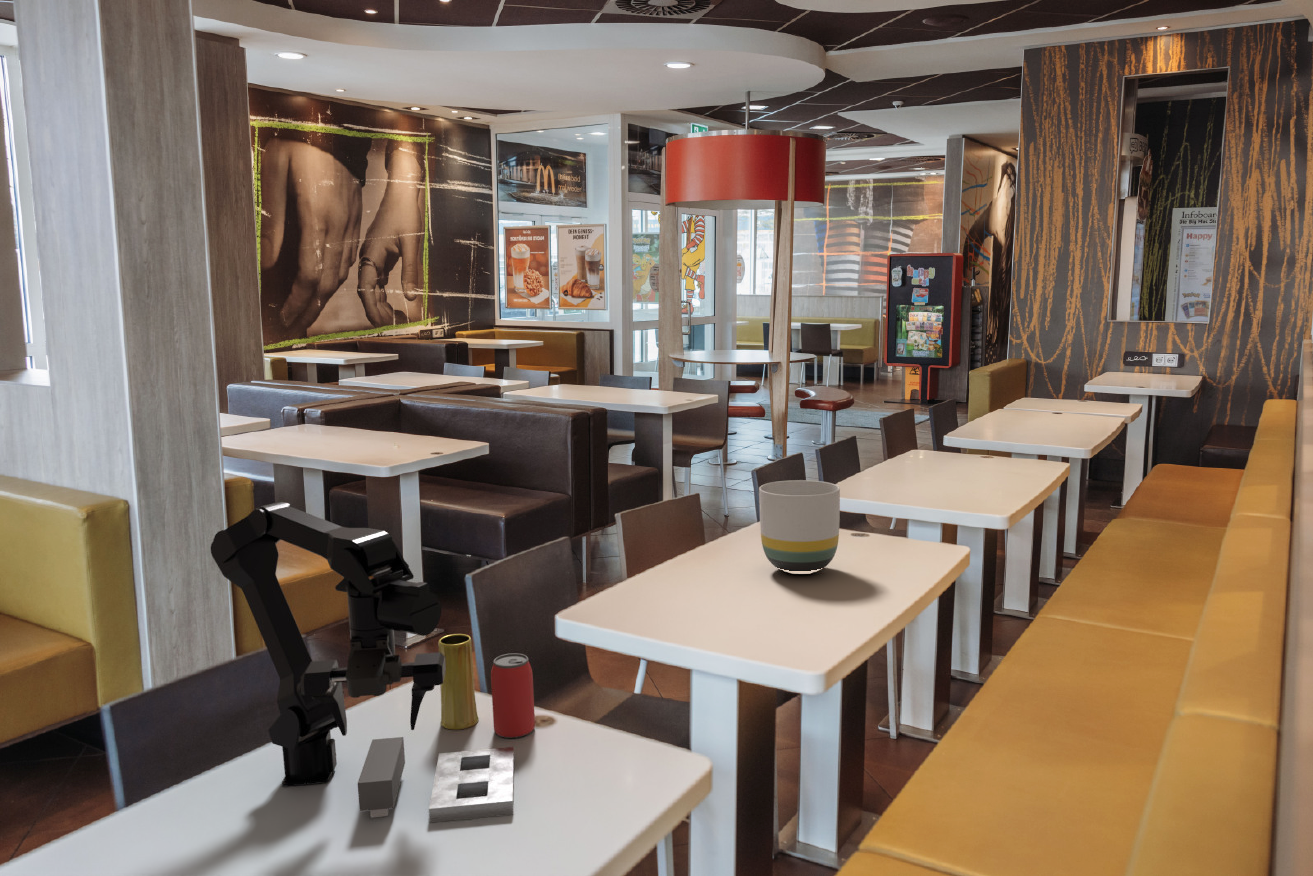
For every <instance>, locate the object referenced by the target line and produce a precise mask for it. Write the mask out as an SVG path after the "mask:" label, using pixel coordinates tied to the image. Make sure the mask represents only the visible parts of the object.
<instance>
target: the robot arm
mask: <svg viewBox="0 0 1313 876" xmlns="http://www.w3.org/2000/svg"><path fill="white" fill-rule="evenodd" d="M280 541H283V542H286V543H288V544H291V545H293V546H296V547H298V548H301V549H303V550H305V551H307V552H310V553H312V554H315V555H317V556H319V557H322V559H323V558H324V559H325V560H326V561H327V562H328V565H329V568H330V569H331V570H332V571H334V572H335V573H336V574H338V576H339V575H340V576H341V577H342V580H341V581H339V582H338V583H337V584H336V585H335V586H334V588H335V590H336V591H337V592H343V593H346V594H347V595H346V596H347V609H348V622H349V632H350V633H349V636H350V638H349V639H350V646H349V647H350V648H349V649H350V651H349V654H348V658H347V666H346V667H344V666H343V667H339V662H338V661H337V659H329V660H328V659H327V660H315V661H313V659H312V656H311V654H310V651H309V649H308V646H307V645H306V642H305V640H304V638H303V635H302V633H301V631H300V629H299V626H298V623H297V621H296V618H295V616H294V614H293V612H292V610H291V607H290V605H289V603H288V600H287V598H286V595H285V593H284V592H283V589H282V587H281V584H280V582H279V579H278V577H277V570H278V569H277V568H278V562H279V557H280V554H279V550H278V546H277V544H278V543H279V542H280ZM210 554H211V556H212V558H213V560H214V561H215V564H216V566H217V567H218V569H219V570H220V571H219V572H221V574H222V576H223V577H224V578H226V579H227V580H228V581H230V582H231V583H233V585H236V586H237V587H238V588H240V589H241V590H242V593H243V595H244V597H245V601H246V603H247V604H248V607H249V609H250V611H251V614H252V616H253V618H254V621H255V623H256V625H257V629H258V631H259V633H260V635H261V637H262V639H263V642H264V645H265V646H266V650H267V651H268V654H269V656H270V659H271V660H272V664H273V666H274V668H275V670H276V673H277V675H278V679H279V685H278V691H277V692H278V693H277V698H276V703H277V707H278V710H279V713H280V715H279V716H278V717H277V719H276V720H275V721H274V722H273V724H271V726H270V727H269V728H268V733H269V738H270V739H271V741H270V742H272V743H271V744H273V745H276V746H279V747H282V757H283V760H282V761H283V769H284V770H283V771H284V777H283V780H282V781H281V786H282V787H289V786H300V785H303V786H304V785H311V784H324V783H328V782H329V781H330V778H331V776H332V774H333V772H334V771H335V769H336V767H337V764H338V763H337V750H336V739H335V738H332V736H331V734H332V733H331V731H332V730H333V729H337V728H339V729H338V730H339V731H340V733H341V735H342V736H344V737H346V736H347V733H348V718H347V713H346V705H345V697H344V693H345V692H344V689H343V684H342V683H346V688H347V692H348V696H349V697H350V698H355V699H357V698H360V697H365V696H366V697H369V696H374V697H381V696H382V695H384V694H385V693H386V692H387V687H388V686H389V685H391V686H392V685H393V683H400V682H401V680H402V679H401V678H403V679H404V678H412V682H413V683H412V686H411V702H410V730H411V731H415V727H416V723H417V719H418V715H419V711H420V707H421V704H422V702H423V699H424V698H425V695H426V692H431V691H433V690H434V689H435V686H440V684H443V681H444V676H445V671H446V664H445V656H444V655H443V654H442V653H441V652H439V651H437V652H436V651H435V652H423V653H416V654H415V658H414V661H412V662H404V663H403V662H402V660H401V657H400V655H399V654H397V655H396V645H395V643H396V642H395V632H394V631H397V632H402V633H406V634H407V633H408V634H411V635H418V636H423V637H424V636H428V635H430V634H431V633H433V632H434V631H435V629H436V628H437V626H438V625H439V622H440V620H441V616H442V604H441V602H440V601H439V600H440V599H439V598H438V596H437V595H436V594H435V593H433V592H430V585H429V583H428V582H422V581H418V582H413V581H410V580H413V579H414V576H415V575H414V573H413V572H412V570H411V569H410V565H409V564H408V563H407V561H406V560H405V559H404V557H403V555H402V554H401V552H400V551H399V548H398V547H397V544H396V543H395V542H394V540H393V537H392V535H390V534H389V533H388V532H386V531H385V530H382V529H375V528H369V527H346V526H341V525H339V524H336V523H334V522H332V521H331V522H330V521H329V520H326V519H323V518H321V517H318V516H316V515H313V514H310V513H309V512H306V511H302V510H300V509H298V508H296V507H292V505H291V504H290V503H288V502H284V501H278V502H274V503H269V504H265V505H261V506H257V507H256V508H255V509H254V510H252V511H251V512H250V513H249V514H248V515H247V516H245V517H244V518H242V519H241V520H238V521H237V522H235V523H234V524H232V525H230V526H228V527H227V528H226V529H221V530H219V531H217V532H216V533H215V535H214V537H213V540H212V542H211V544H210ZM389 570H390V572H387V571H389ZM384 572H387V573H385V574H382V573H384ZM378 574H382V575H379V576H376V575H378ZM372 576H376V577H373V578H370V577H372Z"/></svg>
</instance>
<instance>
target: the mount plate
mask: <svg viewBox="0 0 1313 876" xmlns="http://www.w3.org/2000/svg"><path fill="white" fill-rule="evenodd" d="M514 751H515V749H514V746H510V747H509V746H507V747H498V748H495V747H494V748H487V749H486V748H485V749H475V750H463V751H453V752H452V751H451V752H440V753H438V757H437V764H436V769H435V773H434V774H435V775H434V778H433V779H434V780H433V785H432V793H431V796H430V801H429V807H428V813H429V823H430V824H432V823H442V822H452V821H461V820H472V819H473V820H474V819H483V818H495V817H503V816H513V815H514V794H515V793H514V791H515V790H514V789H515V788H514V787H515V786H514V785H515V752H514ZM474 796H475V797H474Z"/></svg>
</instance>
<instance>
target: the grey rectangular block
mask: <svg viewBox="0 0 1313 876" xmlns="http://www.w3.org/2000/svg"><path fill="white" fill-rule="evenodd" d="M405 756H406V755H405V744H404V737H403V736H398V737H389V738H388V737H386V738H377V739H372V740H371V742H370V746H369V749H368V751H367V755H366V757H365V761H364V763H363V766H362V769H361V771H360V775H359V778H358V781H357V793H358V807H359V812H365V811H366V812H367V811H368V812H369V811H370V818H372V819H373V818H380V817H381V818H382V817H388V816H389V811H390V809H394V808H395V804H396V800H397V796H398V792H399V788H400V784H401V781H402V776H403V772H404V769H405V766H406V765H405V764H406V757H405Z"/></svg>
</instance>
